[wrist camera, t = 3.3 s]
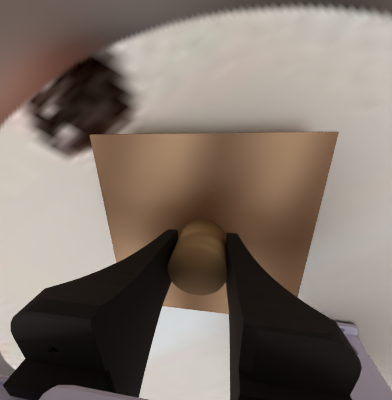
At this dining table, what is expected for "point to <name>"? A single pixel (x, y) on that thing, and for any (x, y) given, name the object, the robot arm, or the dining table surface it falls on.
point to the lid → (215, 202)
